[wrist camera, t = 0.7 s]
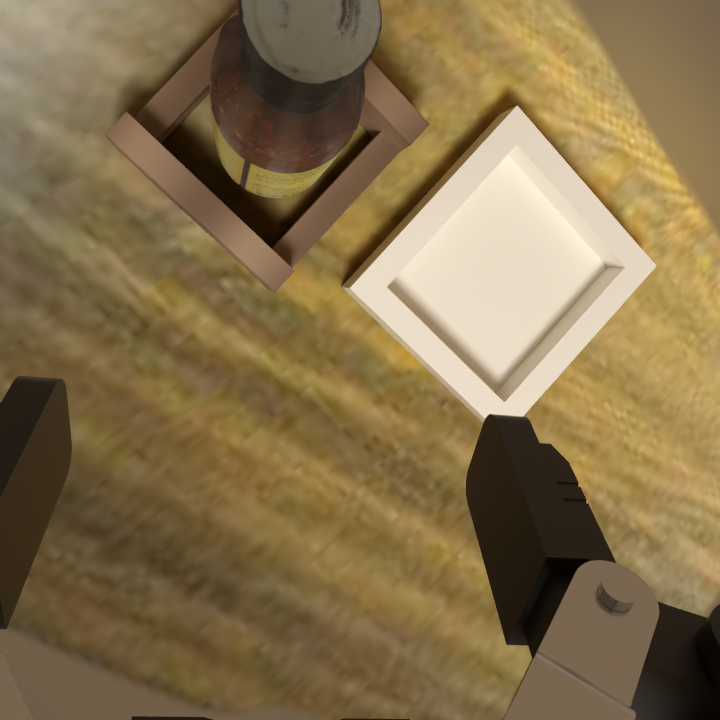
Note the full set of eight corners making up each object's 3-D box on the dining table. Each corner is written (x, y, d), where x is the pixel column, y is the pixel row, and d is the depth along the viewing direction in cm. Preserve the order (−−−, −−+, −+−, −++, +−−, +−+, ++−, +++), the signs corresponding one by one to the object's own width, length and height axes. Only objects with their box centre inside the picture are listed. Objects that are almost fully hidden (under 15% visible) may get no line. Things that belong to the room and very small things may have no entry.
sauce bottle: (346, 134, 39) (482, 7, 20) (284, 224, 39) (359, 183, 20) (251, 58, 37) (298, -161, 18) (185, 151, 37) (163, 29, 18)
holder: (115, 148, 37) (104, 134, 33) (268, -12, 37) (275, -45, 33) (268, 289, 39) (275, 291, 35) (408, 138, 40) (429, 124, 36)
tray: (341, 287, 40) (349, 288, 38) (498, 114, 41) (517, 105, 38) (487, 427, 43) (504, 437, 41) (631, 266, 44) (656, 265, 42)
